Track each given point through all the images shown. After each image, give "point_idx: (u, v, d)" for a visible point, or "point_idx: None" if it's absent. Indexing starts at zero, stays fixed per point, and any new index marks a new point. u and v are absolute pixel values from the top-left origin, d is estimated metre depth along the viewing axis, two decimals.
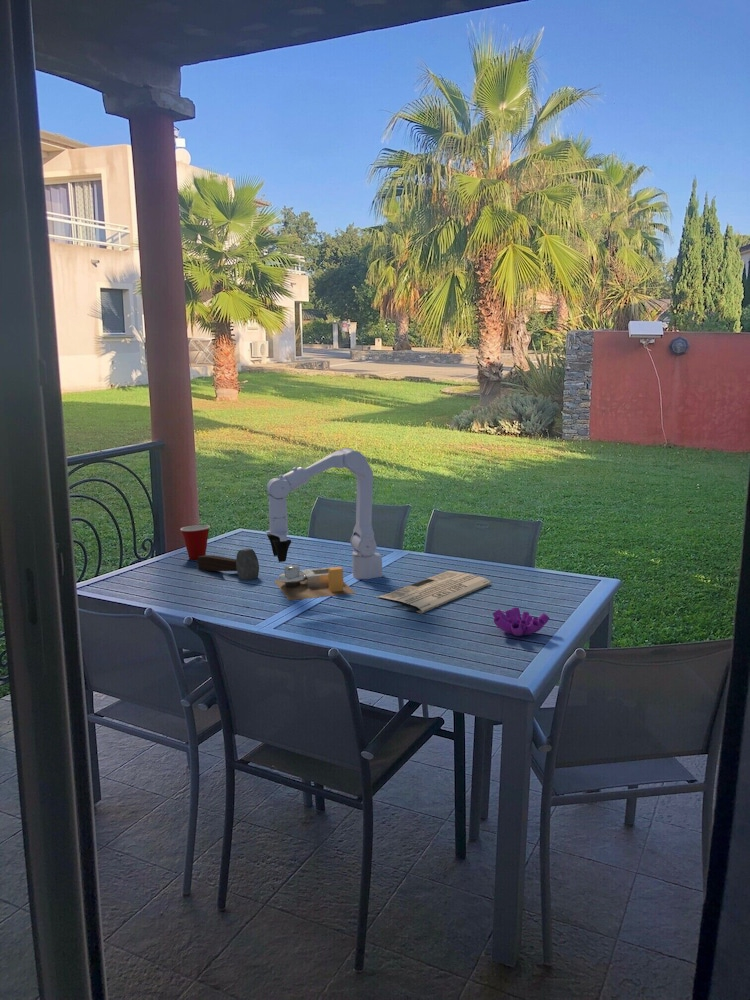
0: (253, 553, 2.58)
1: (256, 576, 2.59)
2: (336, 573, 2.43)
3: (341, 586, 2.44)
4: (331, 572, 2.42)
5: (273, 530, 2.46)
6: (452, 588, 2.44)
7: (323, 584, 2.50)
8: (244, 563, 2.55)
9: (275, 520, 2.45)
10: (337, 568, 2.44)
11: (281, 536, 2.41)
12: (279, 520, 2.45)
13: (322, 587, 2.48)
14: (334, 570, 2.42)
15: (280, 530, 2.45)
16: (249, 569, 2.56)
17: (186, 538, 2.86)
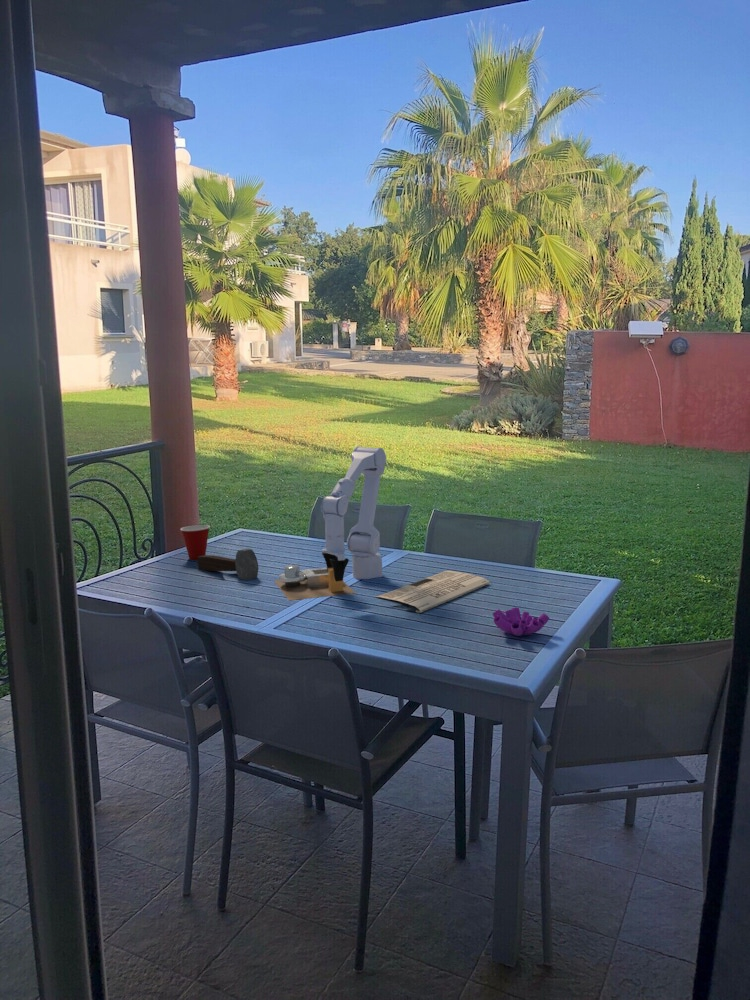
0: (252, 553, 2.58)
1: (255, 576, 2.59)
2: None
3: (341, 586, 2.44)
4: (331, 572, 2.42)
5: (330, 549, 2.40)
6: (451, 588, 2.44)
7: (323, 584, 2.50)
8: (244, 563, 2.55)
9: (332, 538, 2.39)
10: None
11: (339, 555, 2.36)
12: (336, 538, 2.39)
13: (322, 587, 2.48)
14: None
15: (337, 549, 2.40)
16: (248, 569, 2.56)
17: (186, 538, 2.86)
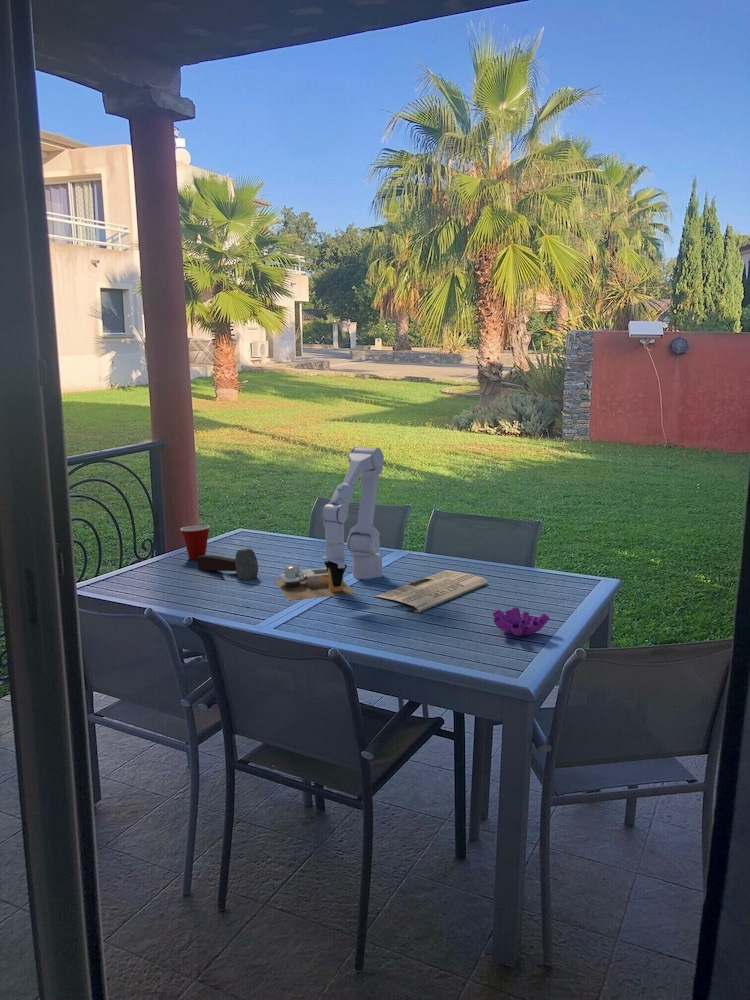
0: (252, 553, 2.58)
1: (255, 576, 2.59)
2: None
3: (341, 586, 2.44)
4: None
5: (330, 556, 2.40)
6: (449, 588, 2.45)
7: (323, 584, 2.50)
8: (244, 563, 2.56)
9: (332, 546, 2.39)
10: None
11: (339, 563, 2.36)
12: (336, 546, 2.40)
13: (322, 587, 2.48)
14: None
15: (337, 556, 2.40)
16: (248, 569, 2.56)
17: (186, 538, 2.86)
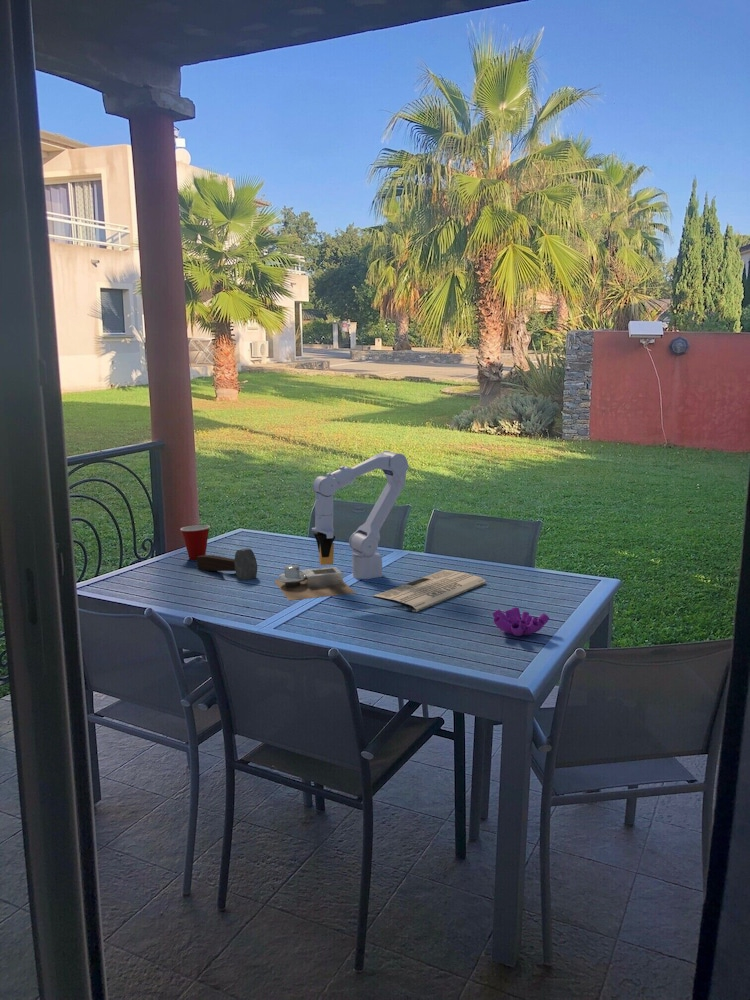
0: (251, 553, 2.58)
1: (254, 576, 2.59)
2: None
3: (331, 560, 2.52)
4: None
5: (319, 527, 2.48)
6: (447, 587, 2.45)
7: (323, 584, 2.50)
8: (243, 563, 2.56)
9: (322, 517, 2.47)
10: None
11: (328, 533, 2.44)
12: (326, 517, 2.47)
13: (322, 587, 2.48)
14: None
15: (326, 527, 2.48)
16: (247, 569, 2.56)
17: (186, 538, 2.86)
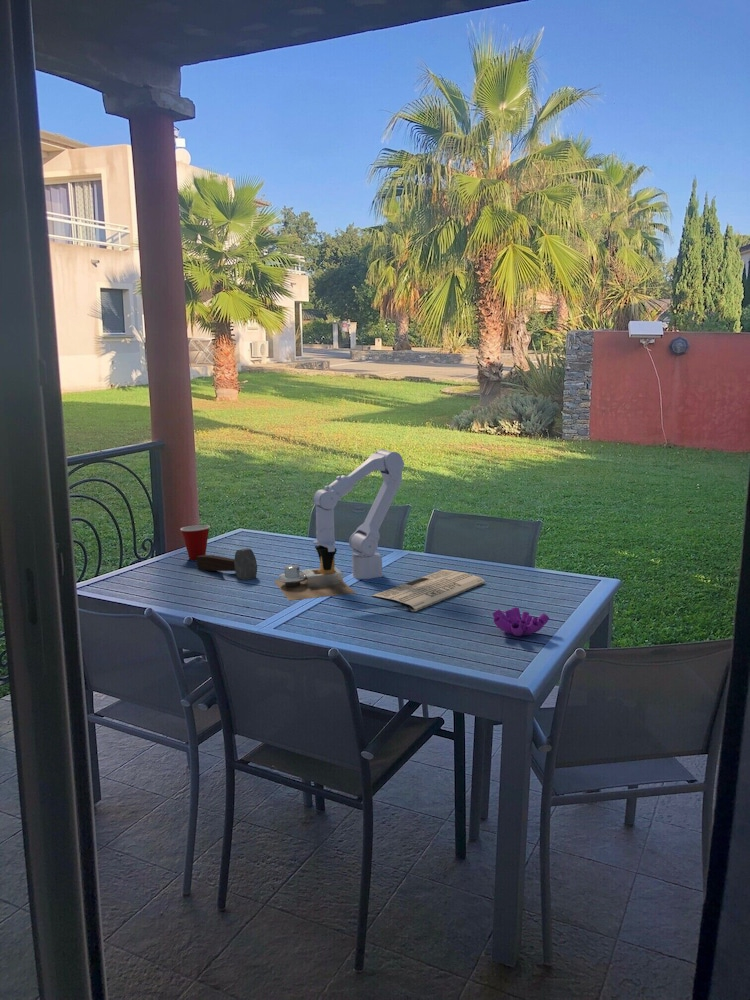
0: (251, 553, 2.58)
1: (254, 576, 2.59)
2: None
3: None
4: None
5: (320, 540, 2.49)
6: (446, 587, 2.45)
7: (323, 584, 2.50)
8: (243, 563, 2.56)
9: (323, 531, 2.48)
10: None
11: (329, 547, 2.45)
12: (327, 531, 2.48)
13: (322, 587, 2.48)
14: None
15: (327, 541, 2.49)
16: (247, 569, 2.56)
17: (186, 538, 2.86)
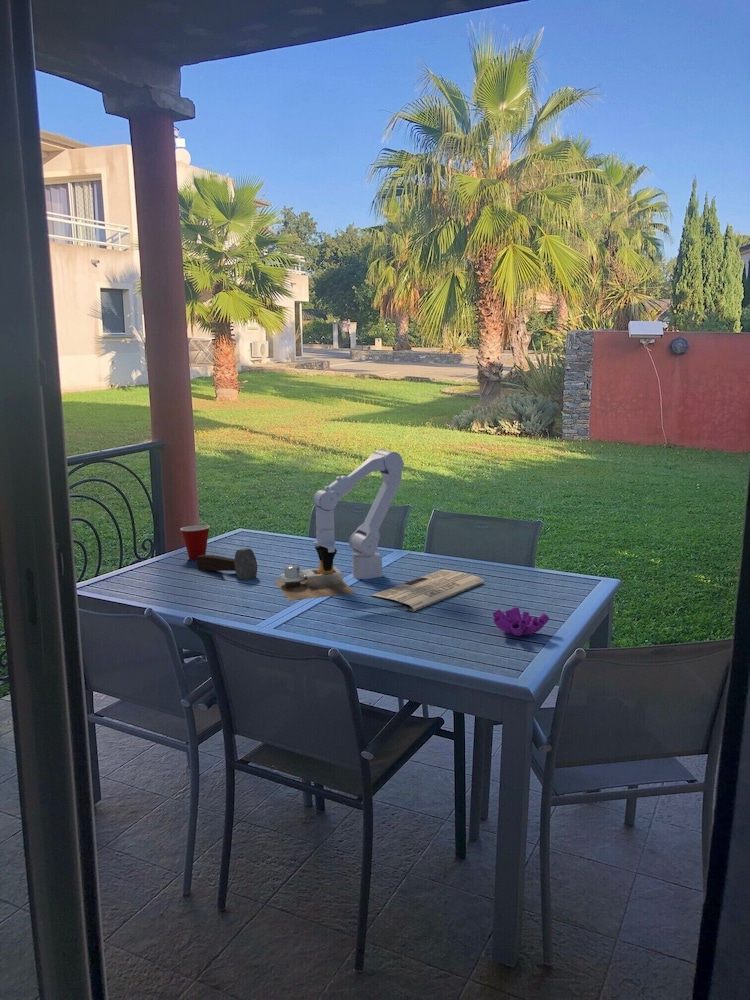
0: (251, 553, 2.58)
1: (254, 576, 2.59)
2: None
3: None
4: (322, 564, 2.51)
5: (320, 541, 2.49)
6: (445, 587, 2.46)
7: (323, 584, 2.50)
8: (243, 563, 2.56)
9: (323, 531, 2.48)
10: None
11: (329, 547, 2.45)
12: (327, 531, 2.48)
13: (322, 587, 2.48)
14: None
15: (327, 541, 2.49)
16: (247, 569, 2.56)
17: (186, 538, 2.86)
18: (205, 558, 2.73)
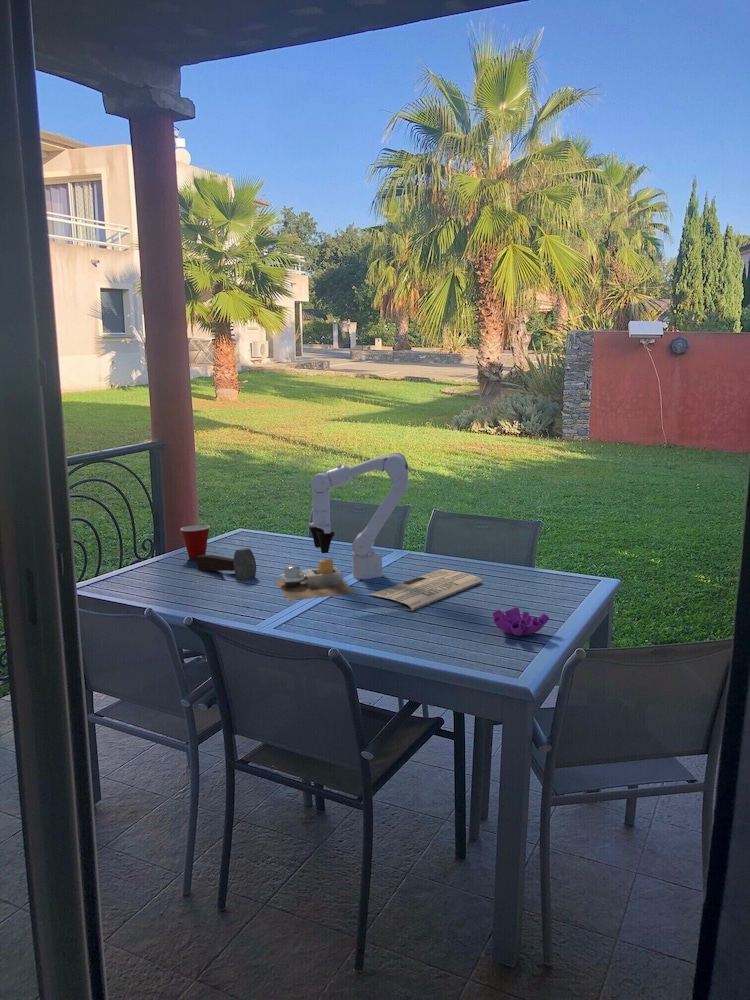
0: (250, 553, 2.58)
1: (253, 576, 2.59)
2: (327, 565, 2.52)
3: None
4: (321, 564, 2.51)
5: (316, 522, 2.56)
6: (443, 586, 2.46)
7: (323, 584, 2.50)
8: (242, 563, 2.56)
9: (319, 513, 2.55)
10: (327, 560, 2.53)
11: (325, 528, 2.52)
12: (323, 513, 2.55)
13: (322, 587, 2.48)
14: (324, 562, 2.52)
15: (323, 523, 2.56)
16: (246, 569, 2.56)
17: (186, 538, 2.86)
18: (205, 558, 2.73)
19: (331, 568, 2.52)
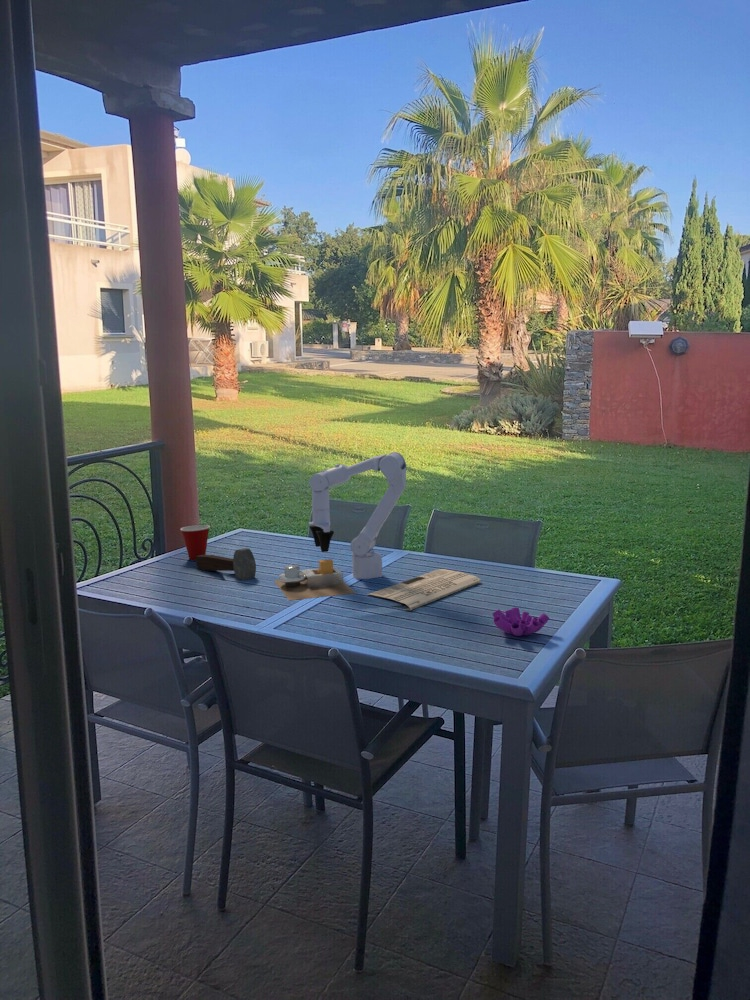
0: (250, 553, 2.58)
1: (253, 576, 2.59)
2: (327, 565, 2.52)
3: None
4: (321, 564, 2.51)
5: (316, 521, 2.58)
6: (442, 586, 2.46)
7: (323, 584, 2.50)
8: (241, 562, 2.56)
9: (318, 512, 2.57)
10: (327, 560, 2.53)
11: (325, 527, 2.54)
12: (322, 512, 2.57)
13: (322, 587, 2.48)
14: (324, 562, 2.52)
15: (323, 522, 2.58)
16: (246, 569, 2.56)
17: (186, 538, 2.86)
18: (204, 558, 2.73)
19: (331, 568, 2.52)
